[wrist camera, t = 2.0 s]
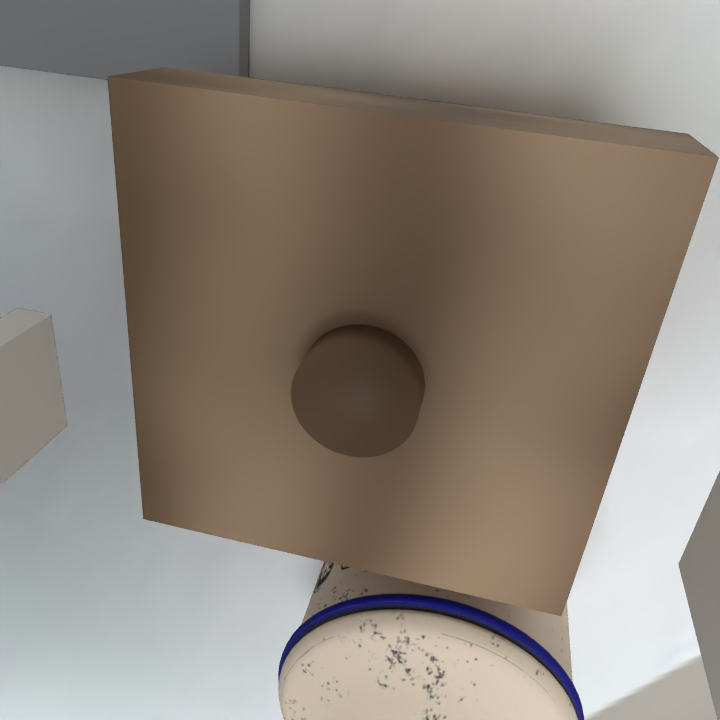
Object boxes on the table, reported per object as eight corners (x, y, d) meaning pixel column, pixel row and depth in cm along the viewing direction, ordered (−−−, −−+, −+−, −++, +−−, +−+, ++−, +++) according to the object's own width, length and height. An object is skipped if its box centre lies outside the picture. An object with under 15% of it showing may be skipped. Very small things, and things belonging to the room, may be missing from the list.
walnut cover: (182, 466, 21) (124, 543, 18) (166, 66, 15) (78, 81, 12) (557, 548, 19) (563, 648, 16) (688, 133, 14) (734, 169, 11)
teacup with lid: (459, 385, 24) (413, 650, 14) (616, 544, 26) (675, 881, 16) (257, 532, 30) (122, 798, 20) (398, 656, 32) (339, 959, 22)
